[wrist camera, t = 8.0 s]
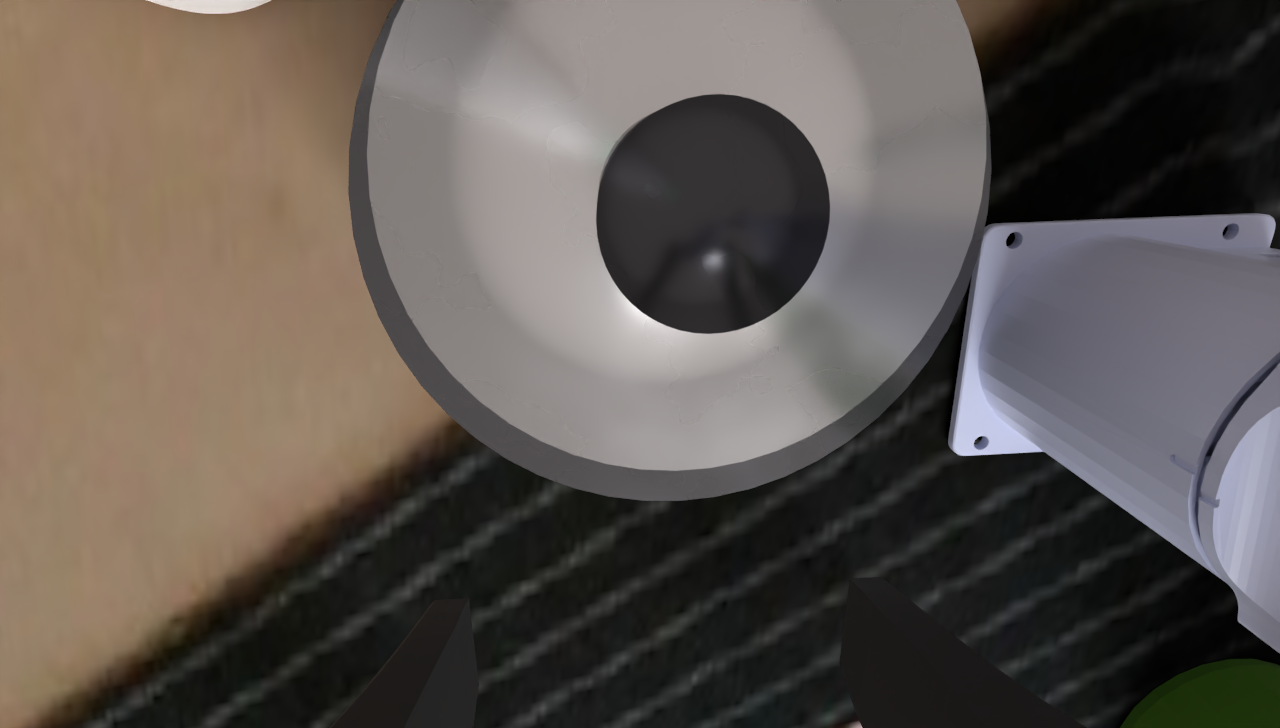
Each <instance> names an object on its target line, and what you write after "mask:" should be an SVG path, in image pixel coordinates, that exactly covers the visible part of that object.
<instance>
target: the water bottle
mask: <svg viewBox="0 0 1280 728" xmlns="http://www.w3.org/2000/svg"><path fill="white" fill-rule="evenodd" d="M147 1H150V2H153V3H157V4H160V5H164V6H167V7H171V8H175V9H179V10H184V11H190V12H196V13H205V14H225V13H234V12H239V11H244V10H248V9H252V8H255V7H257V6H260V5H262V4H264V3H267V2H269V1H271V0H147Z"/></svg>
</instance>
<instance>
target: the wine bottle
mask: <svg viewBox="0 0 1280 728" xmlns="http://www.w3.org/2000/svg"><path fill="white" fill-rule="evenodd" d="M1120 728H1280V666H1279V665H1277V664H1274V663H1270V662H1266V661H1261V660H1257V659H1226V660H1222V661H1217V662H1213V663H1208V664H1203V665H1200V666H1198V667H1196V668H1193V669H1191V670H1188V671H1186V672H1183V673H1181V674H1179V675H1176V676H1175V677H1173V678H1171V679H1170V680H1168V681H1167V682H1165V683H1164V684H1162V685H1160V686H1159V687H1157V688H1156V689H1154V690H1153V691H1152V692H1150V693H1149V694H1148V695H1147V696H1146V697H1145V698H1144V699H1143V700H1142V701H1141V702H1140V703H1139V704H1137V705H1136V706H1135V707H1134V708H1133V710H1132V711H1131V713H1130V714H1129V715H1128V717H1127V718H1126V720H1125V721H1124V722H1123V724H1122V725H1121V727H1120Z"/></svg>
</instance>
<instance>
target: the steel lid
mask: <svg viewBox="0 0 1280 728" xmlns="http://www.w3.org/2000/svg"><path fill="white" fill-rule="evenodd" d="M367 164H368V180H369V196H370V202H371V207H372V212H373V217H374V222H375V228H376V233H377V238H378V241H379V244H380V247H381V250H382V253H383V256H384V260H385V263H386V266H387V269H388V272H389V275H390V278H391V280H392V282H393V284H394V286H395V288H396V290H397V293H398V295H399V297H400V299H401V301H402V303H403V305H404V307H405V309H406V311H407V314H408V315H409V317H410V318H411V320H412V322H413V323H414V325H415V326H416V328H417V329H418V331H419V333H420V334H421V336H422V337H423V339H424V340H425V342H426V343H427V345H428V347H429V348H430V349H431V350H432V352H433V353H434V354H435V355H436V356H437V358H438V359H439V360H440V361H441V362H442V364H443V365H444V366H445V367H446V368H447V370H448V371H449V372H450V373H451V375H452V376H453V377H454V378H455V379H456V380H457V381H458V382H460V383H461V384H462V385H463V386H464V387H465V388H466V389H467V390H468V391H469V392H470V393H471V394H472V395H473V396H474V397H475V398H476V399H478V400H479V401H480V402H481V403H482V404H484V405H485V406H486V407H488V408H489V409H490V410H492V411H493V412H494V413H496V414H497V415H499V416H500V417H501V418H503V419H504V420H505V421H507V422H508V423H509V424H511V425H513V426H515V427H516V428H518V429H520V430H522V431H524V432H525V433H527V434H529V435H531V436H532V437H534V438H536V439H538V440H539V441H542V442H544V443H546V444H549V445H551V446H554V447H556V448H558V449H561V450H563V451H566V452H568V453H570V454H573V455H576V456H580V457H583V458H587V459H590V460H594V461H598V462H601V463H605V464H609V465H616V466H622V467H628V468H635V469H641V470H668V471H680V470H692V469H705V468H713V467H718V466H723V465H728V464H733V463H739V462H744V461H747V460H750V459H753V458H756V457H759V456H763V455H766V454H769V453H772V452H775V451H778V450H780V449H782V448H785V447H787V446H789V445H791V444H794V443H796V442H798V441H800V440H802V439H805V438H807V437H809V436H811V435H813V434H814V433H816V432H818V431H819V430H821V429H823V428H824V427H826V426H828V425H829V424H831V423H833V422H834V421H836V420H838V419H839V418H841V417H842V416H844V415H845V414H846V413H848V412H849V411H850V410H852V409H853V408H854V407H855V406H857V405H858V404H859V403H861V402H862V401H863V400H865V399H866V398H867V397H869V396H870V395H871V394H872V393H873V392H874V391H875V390H876V389H877V388H878V387H879V386H880V385H881V384H882V383H883V382H884V381H886V380H887V379H888V378H889V377H890V376H891V375H892V374H893V373H894V372H895V371H896V370H897V369H898V367H899V366H900V365H901V364H902V363H903V361H904V360H905V359H906V358H907V357H908V355H909V354H910V353H911V352H912V351H913V349H914V348H915V347H916V346H917V345H918V343H919V342H920V341H921V339H922V338H923V336H924V335H925V333H926V332H927V330H928V329H929V327H930V326H931V324H932V323H933V321H934V320H935V318H936V317H937V315H938V314H939V312H940V311H941V309H942V307H943V305H944V303H945V301H946V299H947V297H948V295H949V293H950V291H951V289H952V287H953V285H954V283H955V281H956V279H957V277H958V275H959V272H960V270H961V267H962V264H963V261H964V259H965V256H966V253H967V251H968V248H969V245H970V242H971V240H972V237H973V232H974V228H975V224H976V220H977V216H978V211H979V207H980V203H981V199H982V191H983V182H984V173H985V165H986V111H985V104H984V96H983V89H982V81H981V74H980V70H979V66H978V62H977V59H976V55H975V51H974V47H973V44H972V40H971V36H970V33H969V30H968V27H967V25H966V22H965V20H964V18H963V15H962V13H961V11H960V8H959V6H958V3H957V1H956V0H404V2H403V4H402V6H401V8H400V10H399V12H398V14H397V16H396V18H395V20H394V22H393V25H392V28H391V31H390V34H389V36H388V39H387V42H386V45H385V48H384V51H383V54H382V57H381V60H380V63H379V66H378V71H377V76H376V81H375V86H374V91H373V96H372V101H371V106H370V113H369V129H368V144H367Z"/></svg>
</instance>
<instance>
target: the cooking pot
mask: <svg viewBox="0 0 1280 728" xmlns="http://www.w3.org/2000/svg"><path fill="white" fill-rule="evenodd" d="M403 2H404V0H397V1H396V3H395V4H394V6H393V8H392V9H391V11H390V12H389V14H388V17H387V19H386V21H385V23H384V26H383V28H382V30H381V32H380V34H379V37H378V39H377V41H376V43H375V45H374V48H373V50H372V52H371V54H370V57H369V60H368V64H367V67H366V70H365V74H364V77H363V81H362V84H361V87H360V91H359V94H358V98H357V101H356V107H355V114H354V120H353V127H352V133H351V140H350V147H349V201H350V210H351V219H352V227H353V236H354V240H355V244H356V248H357V253H358V257H359V261H360V265H361V269H362V273H363V277H364V280H365V282H366V285H367V288H368V290H369V293H370V295H371V298H372V301H373V303H374V306H375V308H376V311H377V314H378V316H379V318H380V320H381V322H382V324H383V326H384V328H385V329H386V331H387V333H388V335H389V337H390V339H391V341H392V342H393V344H394V346H395V348H396V350H397V352H398V353H399V355H400V356H401V358H402V359H403V360H404V362H405V363H406V365H407V366H408V367H409V369H410V370H411V372H412V373H413V374H414V376H415V377H416V379H417V380H418V381H419V383H420V384H421V386H422V387H423V388H424V389H425V390H426V391H427V392H428V393H429V394H430V395H431V397H432V398H433V399H434V400H435V401H436V402H437V403H438V404H439V405H440V406H441V407H442V409H443V410H444V411H445V412H446V413H447V414H448V415H449V416H450V417H452V418H453V419H454V420H455V421H456V422H457V423H459V424H460V425H461V426H462V427H463V428H464V429H466V430H467V431H468V432H469V433H470V434H471V435H473V436H474V437H475V438H476V439H478V440H479V441H481V442H482V443H484V444H485V445H487V446H488V447H490V448H491V449H493V450H494V451H496V452H497V453H499V454H500V455H502V456H503V457H505V458H506V459H508V460H510V461H512V462H514V463H516V464H518V465H520V466H522V467H524V468H526V469H528V470H530V471H532V472H534V473H536V474H538V475H540V476H542V477H545V478H548V479H550V480H553V481H556V482H559V483H561V484H564V485H567V486H569V487H572V488H575V489H580V490H584V491H588V492H592V493H597V494H601V495H605V496H609V497H618V498H627V499H635V500H644V501H681V500H690V499H699V498H708V497H716V496H720V495H725V494H729V493H734V492H738V491H742V490H747V489H751V488H754V487H756V486H759V485H762V484H765V483H768V482H771V481H773V480H776V479H779V478H782V477H785V476H787V475H789V474H791V473H793V472H795V471H797V470H799V469H801V468H803V467H805V466H807V465H810V464H812V463H814V462H816V461H818V460H819V459H821V458H822V457H824V456H826V455H827V454H829V453H830V452H832V451H833V450H835V449H837V448H838V447H840V446H841V445H843V444H845V443H846V442H848V441H849V440H850V439H852V438H853V437H854V436H855V435H857V434H858V433H859V432H860V431H862V430H863V429H864V428H865V427H867V426H868V425H869V424H870V423H872V422H873V421H874V420H875V419H877V418H878V417H879V416H880V415H881V414H882V413H883V412H884V411H885V410H886V409H887V408H888V407H889V406H890V405H891V404H892V403H893V402H894V401H895V400H896V399H897V398H898V397H899V396H900V395H901V394H902V393H903V392H904V391H905V389H906V388H907V387H908V386H909V384H910V383H911V382H912V381H913V379H914V378H915V377H916V376H917V374H918V373H919V372H920V371H921V369H922V368H923V367H924V366H925V364H926V363H927V362H928V360H929V359H930V357H931V356H932V354H933V352H934V351H935V349H936V348H937V346H938V344H939V343H940V341H941V340H942V338H943V336H944V335H945V333H946V332H947V330H948V328H949V326H950V324H951V322H952V320H953V318H954V316H955V314H956V312H957V310H958V307H959V305H960V303H961V301H962V299H963V297H964V295H965V293H966V290H967V287H968V284H969V281H970V279H971V276H972V273H973V270H974V267H975V264H976V261H977V258H978V255H979V251H980V247H981V242H982V237H983V232H984V228H985V223H986V218H987V213H988V204H989V192H990V180H991V146H990V125H989V119H988V113H987V107H986V102H985V96H984V90H983V96H984V104H985V111H986V165H985V173H984V182H983V191H982V199H981V203H980V207H979V211H978V216H977V220H976V224H975V228H974V232H973V237H972V240H971V242H970V245H969V248H968V251H967V253H966V256H965V259H964V261H963V264H962V267H961V270H960V272H959V275H958V277H957V279H956V281H955V283H954V285H953V287H952V289H951V291H950V293H949V295H948V297H947V299H946V301H945V303H944V305H943V307H942V309H941V311H940V312H939V314H938V315H937V317H936V318H935V320H934V321H933V323H932V324H931V326H930V327H929V329H928V330H927V332H926V333H925V335H924V336H923V338H922V339H921V341H920V342H919V343H918V345H917V346H916V347H915V348H914V349H913V351H912V352H911V353H910V354H909V355H908V357H907V358H906V359H905V360H904V361H903V363H902V364H901V365H900V366H899V367H898V369H897V370H896V371H895V372H894V373H893V374H892V375H891V376H890V377H889V378H888V379H887V380H886V381H884V382H883V383H882V384H881V385H880V386H879V387H878V388H877V389H876V390H875V391H874V392H873V393H872V394H871V395H870V396H869V397H867V398H866V399H865V400H863V401H862V402H861V403H859V404H858V405H857V406H855V407H854V408H853V409H852V410H850V411H849V412H848V413H846V414H845V415H844V416H842V417H841V418H839V419H838V420H836V421H834V422H833V423H831V424H829V425H828V426H826V427H824V428H823V429H821V430H819V431H818V432H816V433H814V434H813V435H811V436H809V437H807V438H805V439H802V440H800V441H798V442H796V443H794V444H791V445H789V446H787V447H785V448H782V449H780V450H778V451H775V452H772V453H769V454H766V455H763V456H759V457H756V458H753V459H750V460H747V461H744V462H739V463H733V464H728V465H723V466H718V467H713V468H705V469H692V470H680V471H668V470H641V469H635V468H628V467H622V466H616V465H609V464H605V463H601V462H598V461H594V460H590V459H587V458H583V457H580V456H576V455H573V454H570V453H568V452H566V451H563V450H561V449H558V448H556V447H554V446H551V445H549V444H546V443H544V442H542V441H539V440H538V439H536V438H534V437H532V436H531V435H529V434H527V433H525V432H524V431H522V430H520V429H518V428H516V427H515V426H513V425H511V424H509V423H508V422H507V421H505V420H504V419H503V418H501V417H500V416H499V415H497V414H496V413H494V412H493V411H492V410H490V409H489V408H488V407H486V406H485V405H484V404H482V403H481V402H480V401H479V400H478V399H476V398H475V397H474V396H473V395H472V394H471V393H470V392H469V391H468V390H467V389H466V388H465V387H464V386H463V385H462V384H461V383H460V382H458V381H457V380H456V379H455V378H454V377H453V376H452V375H451V373H450V372H449V371H448V370H447V368H446V367H445V366H444V365H443V364H442V362H441V361H440V360H439V359H438V358H437V356H436V355H435V354H434V353H433V352H432V350H431V349H430V348H429V347H428V345H427V343H426V342H425V340H424V339H423V337H422V336H421V334H420V333H419V331H418V329H417V328H416V326H415V325H414V323H413V322H412V320H411V318H410V317H409V315H408V314H407V311H406V309H405V307H404V305H403V303H402V301H401V299H400V297H399V295H398V293H397V290H396V288H395V286H394V284H393V282H392V280H391V278H390V275H389V272H388V269H387V266H386V263H385V260H384V256H383V253H382V250H381V247H380V244H379V241H378V238H377V233H376V228H375V222H374V217H373V212H372V207H371V202H370V196H369V180H368V164H367V144H368V129H369V113H370V106H371V101H372V96H373V91H374V86H375V81H376V76H377V71H378V66H379V63H380V60H381V57H382V54H383V51H384V48H385V45H386V42H387V39H388V36H389V34H390V31H391V28H392V25H393V22H394V20H395V18H396V16H397V14H398V12H399V10H400V8H401V6H402V4H403ZM981 81H982V80H981ZM982 89H983V84H982Z"/></svg>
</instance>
